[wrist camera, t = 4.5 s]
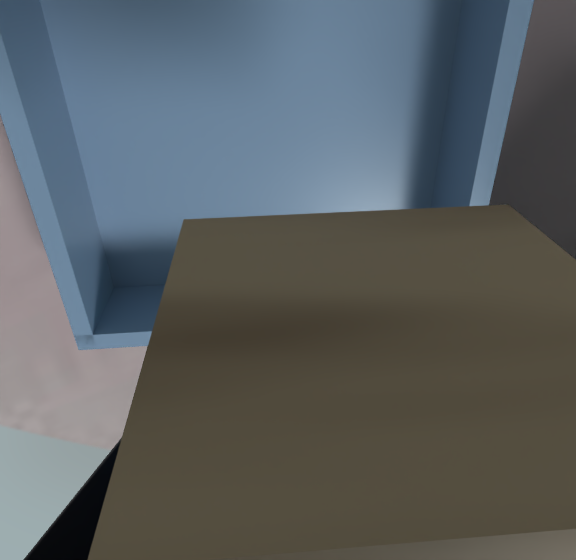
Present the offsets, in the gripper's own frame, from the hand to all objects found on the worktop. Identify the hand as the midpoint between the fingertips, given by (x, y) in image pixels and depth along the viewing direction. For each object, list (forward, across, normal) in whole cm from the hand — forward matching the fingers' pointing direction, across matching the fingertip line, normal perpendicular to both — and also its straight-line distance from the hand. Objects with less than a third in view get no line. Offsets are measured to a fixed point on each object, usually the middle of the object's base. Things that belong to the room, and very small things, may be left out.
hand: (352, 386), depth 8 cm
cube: (+1, 0, 0) cm, 1 cm away
